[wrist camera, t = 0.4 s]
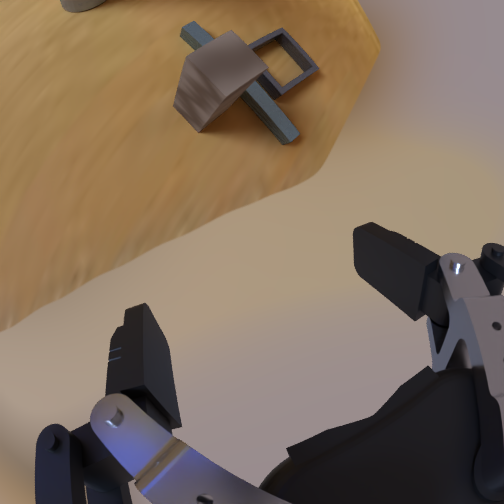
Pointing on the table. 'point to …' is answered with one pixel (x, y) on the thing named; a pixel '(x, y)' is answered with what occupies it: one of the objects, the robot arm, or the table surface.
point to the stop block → (215, 79)
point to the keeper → (264, 79)
